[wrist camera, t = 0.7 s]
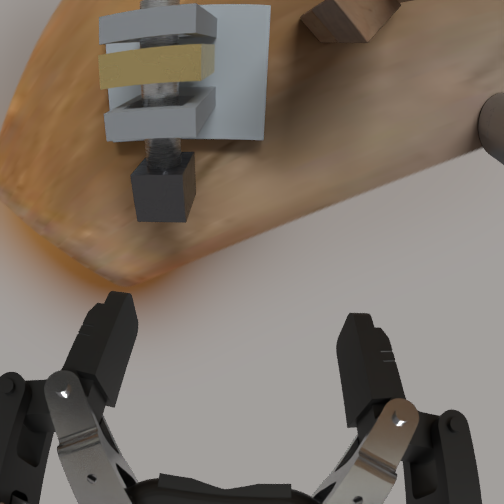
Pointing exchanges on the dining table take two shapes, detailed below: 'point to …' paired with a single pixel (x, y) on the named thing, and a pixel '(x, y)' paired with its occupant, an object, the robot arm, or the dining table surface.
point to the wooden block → (349, 19)
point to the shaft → (163, 152)
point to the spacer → (156, 65)
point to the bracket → (195, 92)
